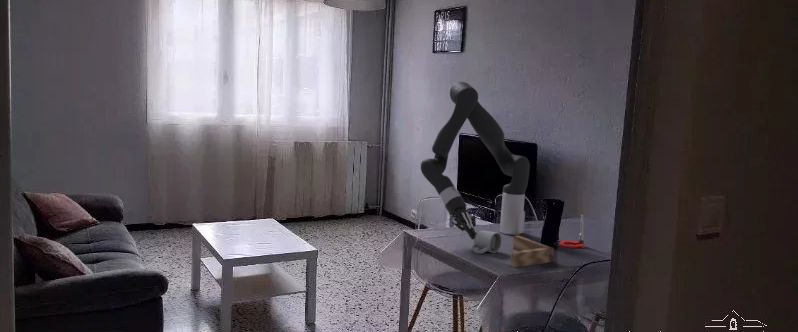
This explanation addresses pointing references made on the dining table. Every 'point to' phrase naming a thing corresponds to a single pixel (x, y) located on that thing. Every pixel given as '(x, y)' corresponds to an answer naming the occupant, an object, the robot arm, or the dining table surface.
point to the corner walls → (530, 252)
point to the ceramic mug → (487, 242)
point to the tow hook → (578, 244)
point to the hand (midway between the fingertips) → (474, 238)
